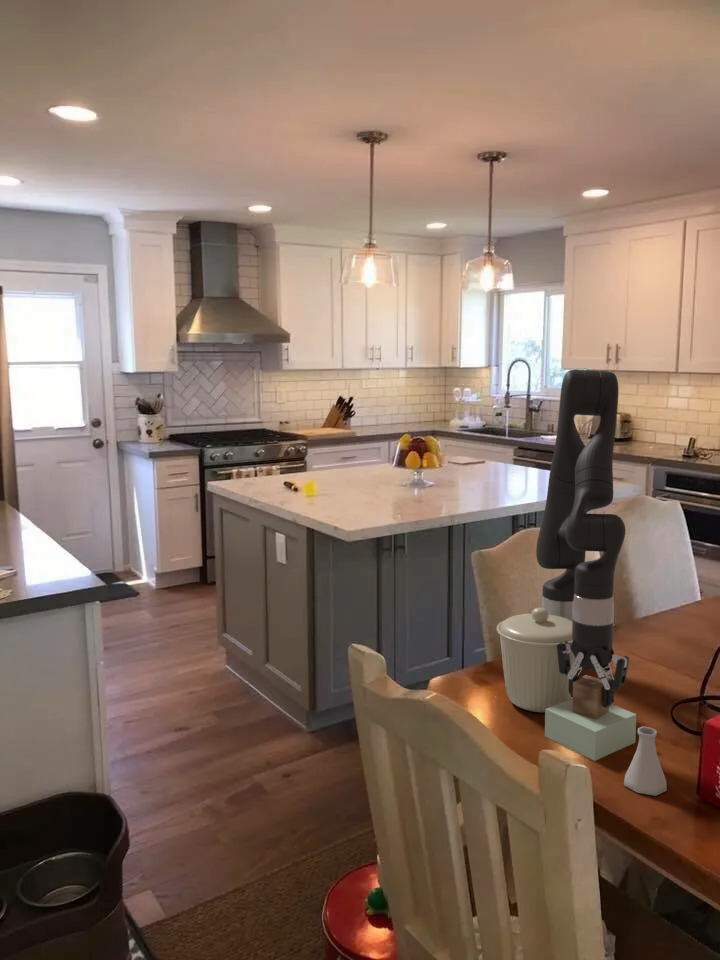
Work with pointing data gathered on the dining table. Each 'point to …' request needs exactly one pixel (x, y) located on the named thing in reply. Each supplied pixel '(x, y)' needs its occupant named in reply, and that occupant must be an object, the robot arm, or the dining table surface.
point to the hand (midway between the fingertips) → (590, 701)
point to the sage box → (590, 730)
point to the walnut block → (588, 697)
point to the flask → (646, 766)
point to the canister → (535, 659)
